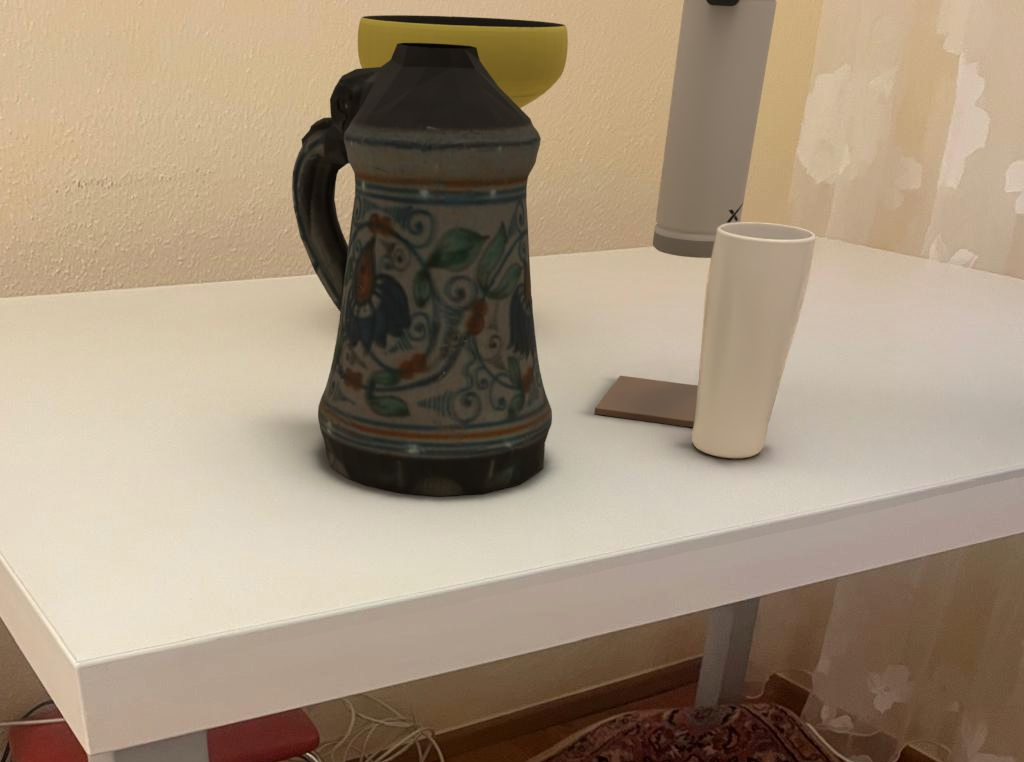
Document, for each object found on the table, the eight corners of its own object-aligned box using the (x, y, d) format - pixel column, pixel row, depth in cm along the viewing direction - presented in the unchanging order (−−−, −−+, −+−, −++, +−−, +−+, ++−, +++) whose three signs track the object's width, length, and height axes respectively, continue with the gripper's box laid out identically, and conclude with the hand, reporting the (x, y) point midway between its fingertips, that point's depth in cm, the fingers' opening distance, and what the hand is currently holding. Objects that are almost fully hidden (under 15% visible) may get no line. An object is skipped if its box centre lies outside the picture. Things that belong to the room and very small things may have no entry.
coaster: (736, 396, 101) (737, 390, 100) (720, 431, 93) (721, 424, 93) (619, 381, 103) (620, 375, 103) (594, 414, 95) (594, 407, 95)
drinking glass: (716, 428, 93) (753, 218, 85) (790, 452, 89) (837, 234, 81) (662, 445, 90) (695, 227, 81) (737, 471, 86) (780, 244, 77)
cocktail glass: (401, 358, 107) (408, 25, 92) (330, 310, 120) (327, 13, 105) (577, 342, 113) (609, 28, 98) (491, 299, 126) (508, 17, 112)
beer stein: (535, 509, 78) (576, 62, 64) (250, 481, 81) (227, 44, 66) (557, 430, 92) (594, 46, 77) (311, 408, 94) (303, 31, 80)
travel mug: (752, 258, 89) (809, -73, 78) (667, 258, 88) (713, -77, 77) (721, 241, 94) (771, -73, 83) (641, 241, 93) (680, -76, 82)
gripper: (834, -353, 66) (773, 9, 76) (847, -305, 77) (793, 5, 87) (698, -349, 68) (656, 4, 77) (730, -303, 79) (690, 1, 89)
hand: (729, 3), depth 82 cm, fingers closed on travel mug, 6 cm apart
